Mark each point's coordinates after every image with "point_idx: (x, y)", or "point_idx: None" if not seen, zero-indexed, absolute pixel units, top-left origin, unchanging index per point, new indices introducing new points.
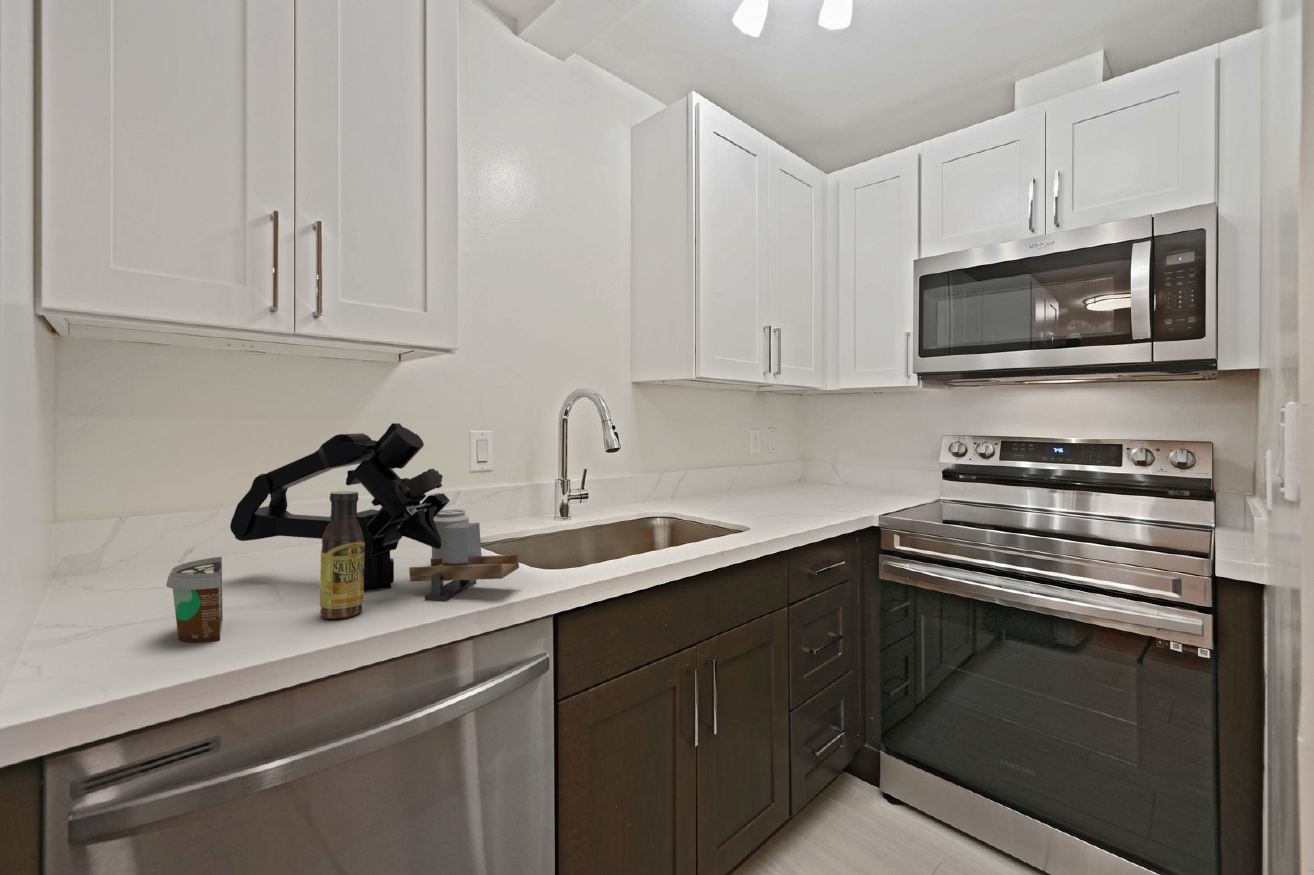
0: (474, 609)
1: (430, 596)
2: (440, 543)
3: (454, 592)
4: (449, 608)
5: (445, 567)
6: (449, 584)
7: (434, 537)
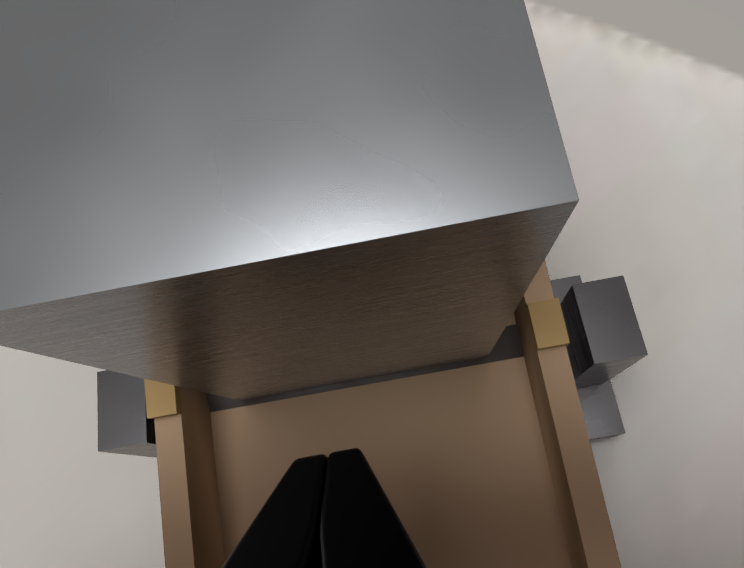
0: (607, 59)
1: (610, 387)
2: (355, 458)
3: None
4: (661, 183)
5: (544, 267)
6: None
7: (406, 539)
